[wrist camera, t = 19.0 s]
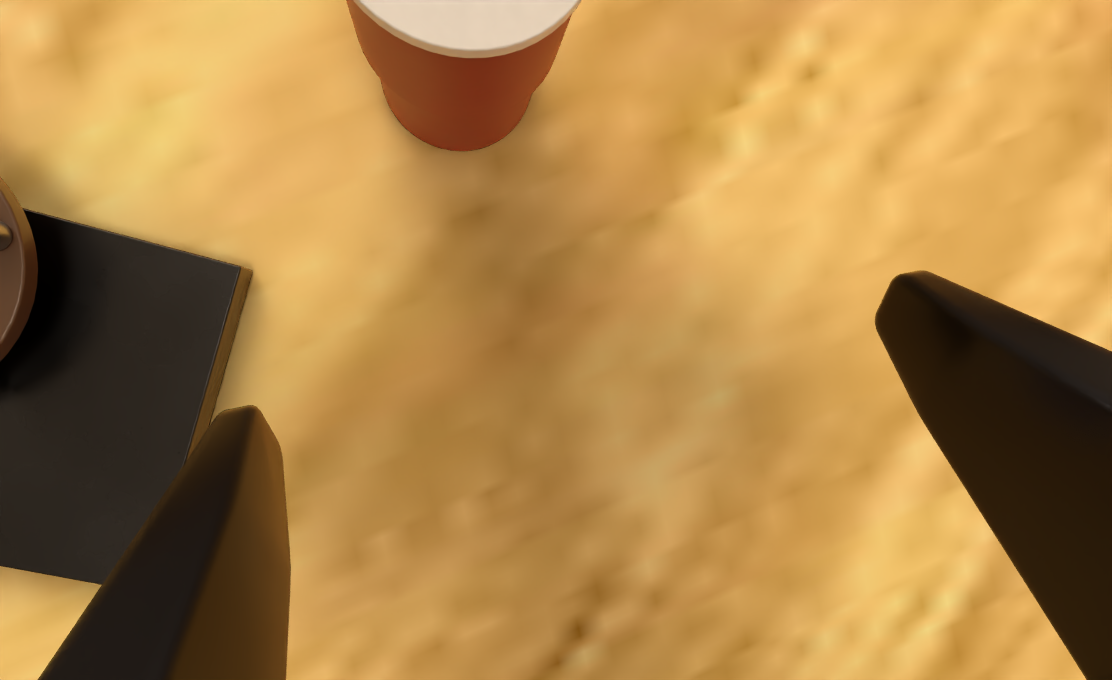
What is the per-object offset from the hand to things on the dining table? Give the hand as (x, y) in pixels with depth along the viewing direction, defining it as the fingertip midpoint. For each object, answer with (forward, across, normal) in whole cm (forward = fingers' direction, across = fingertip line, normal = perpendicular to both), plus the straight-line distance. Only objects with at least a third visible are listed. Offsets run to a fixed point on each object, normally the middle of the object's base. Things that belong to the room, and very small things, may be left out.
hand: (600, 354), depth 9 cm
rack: (+11, +14, +8) cm, 20 cm away
